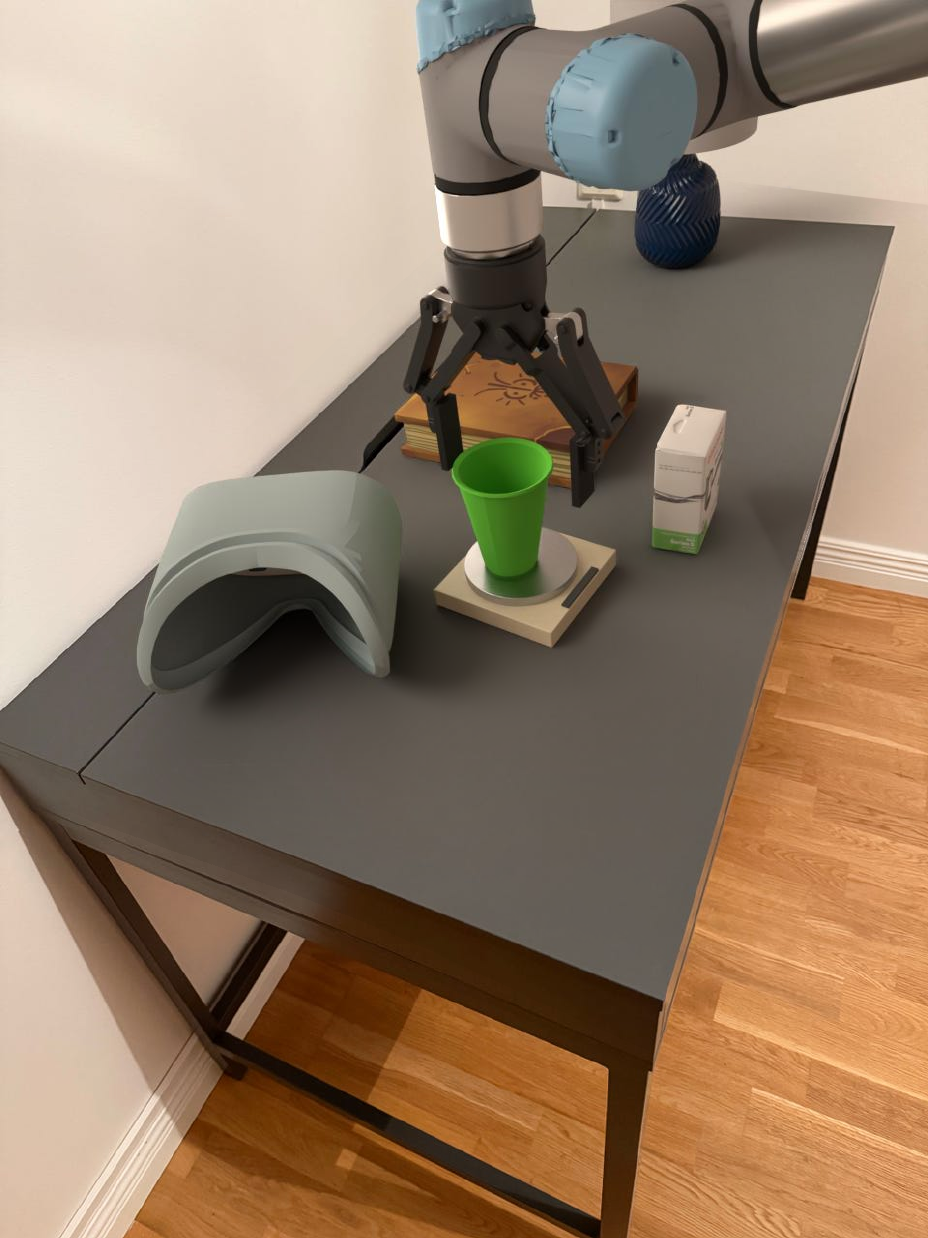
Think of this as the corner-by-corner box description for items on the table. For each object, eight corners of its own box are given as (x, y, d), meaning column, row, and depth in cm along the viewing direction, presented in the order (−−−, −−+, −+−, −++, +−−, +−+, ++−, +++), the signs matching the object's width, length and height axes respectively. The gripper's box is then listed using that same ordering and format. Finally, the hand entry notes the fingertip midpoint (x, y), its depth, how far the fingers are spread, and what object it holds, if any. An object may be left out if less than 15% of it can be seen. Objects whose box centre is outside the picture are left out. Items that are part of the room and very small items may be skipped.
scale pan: (597, 551, 88) (597, 543, 87) (542, 620, 82) (541, 612, 81) (502, 521, 93) (502, 513, 92) (443, 584, 87) (442, 577, 86)
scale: (616, 565, 89) (616, 547, 87) (551, 648, 82) (550, 631, 80) (505, 530, 95) (503, 513, 93) (436, 604, 88) (433, 587, 86)
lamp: (584, 273, 139) (580, -11, 114) (648, 226, 150) (657, -44, 124) (705, 296, 129) (730, -10, 104) (764, 244, 140) (800, -46, 114)
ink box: (698, 556, 89) (707, 456, 80) (649, 547, 90) (653, 448, 82) (717, 506, 94) (728, 407, 86) (671, 498, 96) (677, 401, 88)
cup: (571, 540, 88) (568, 445, 80) (536, 600, 82) (529, 503, 75) (487, 523, 91) (477, 430, 84) (449, 579, 85) (434, 485, 78)
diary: (637, 405, 110) (638, 362, 106) (580, 491, 98) (578, 446, 94) (472, 379, 119) (467, 338, 115) (401, 454, 108) (393, 412, 104)
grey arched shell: (411, 567, 92) (390, 462, 83) (402, 707, 78) (376, 600, 70) (203, 584, 94) (162, 484, 85) (159, 725, 80) (104, 623, 71)
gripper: (674, 237, 62) (663, 490, 76) (389, 205, 73) (426, 430, 88) (626, 281, 57) (624, 540, 72) (331, 239, 69) (380, 470, 83)
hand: (515, 480), depth 80 cm, fingers open, 13 cm apart
